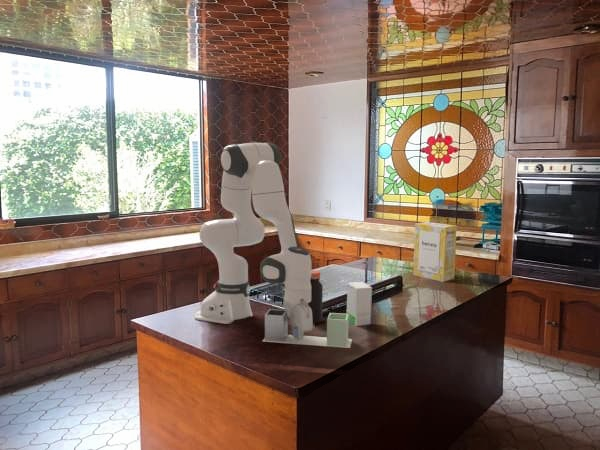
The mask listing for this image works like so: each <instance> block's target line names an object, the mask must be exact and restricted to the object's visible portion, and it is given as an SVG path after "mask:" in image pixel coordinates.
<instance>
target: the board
mask: <svg viewBox="0 0 600 450" xmlns="http://www.w3.org/2000/svg"><path fill="white" fill-rule="evenodd" d="M352 341H353V339H352V338H348V342H347V346H346V347H341V346H328V345H327V336H324V337H323V336H315V335H314V336H311V335H304V338H302V339H296V338H294V337H293V335H292V334H288V335H287V337H286V339H285V341H284V342H275V341H265V337H264V338H263V339H262V342H266V343H267V342H268V343H279V344H290V345H291V344H293V345H305V346H317V347H318V346H320V347H331V348H332V347H333V348H345V349H350V348H351V345H352Z"/></svg>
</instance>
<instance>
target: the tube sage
mask: <svg viewBox="0 0 600 450" xmlns="http://www.w3.org/2000/svg"><path fill="white" fill-rule="evenodd" d="M326 337H327V345H328V346H327V347H330V346H341V347H340V348H343V347H346V346H347V342H348V339H349V323H348V314H346V313H341V312H340V313H337V312H329V314H328V316H327V318H326Z"/></svg>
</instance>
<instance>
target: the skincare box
mask: <svg viewBox="0 0 600 450" xmlns="http://www.w3.org/2000/svg"><path fill="white" fill-rule="evenodd" d="M346 290H347V291H346V292H347V294H346V295H347V296H346V313H345V314H348V324H352V325H354V326H355V327H357V326H366V325H367V326H368V325H371V314H372V300H373V299H372V296H373V287H372V286H370V285H369V284H368V283H365V282H363V281H353V282H352V281H351V282H347V289H346Z"/></svg>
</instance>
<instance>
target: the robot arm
mask: <svg viewBox="0 0 600 450" xmlns="http://www.w3.org/2000/svg"><path fill="white" fill-rule="evenodd" d="M219 159H220V165H221V168H222V170H223V171H222V179H221V189H220V190H221V191H220V204H221V206H222V208H223V209H224V210H226V211H228V212H230V213H232V214H233V218H224V219H223V218H222V219H213V220H210V221H206V222H204V223H203V224H202V225H201V227H200V229H199V240H200V242H201V244H202V245H203V246H204V247H205V248H207V249H209V251H211V252H212V253H213V255H214V256H215V259H216V260H217V264H218V265H217V266H218V272H219V273H218V274H219V277H218V280H217V281H216V282H215V284H214V285H213V288H214V289H215V290H214V291H213V292H212V293H210V294H209V295H208V296H206V297H205V298H204V299H203V300H202V302H201V304H200V309H199V310H198V311H197V312H196V313H195V314H194V319H195V320H198V321H204V322H210V323H211V322H212V323H218V324H224V325H230V324H232V323H233V322H234V321H236V320H242V319H246V318H248V317H253V312H252V309H251V304H250V303H251V302H250V281H249V272H248V271H249V264H248V261H247V260H246V259H245V258H244V257H243V256H240V255H238V254H236V253H235V251H234V248H235V247H236V248H237V247H238V248H239V247H246V246H252V245H256V244H259V243H261V242H262V241H263V240H264V237H265V235H266V229H265V225H264V223H263V222H262V220H261V219H259V218H258V217H257V216H256V215H258V216H259V217H260V218H262V219H264V220H266V221H269V222H271V223H272V224H273V225H274V226H275V228H276V230H277V234H278V239H279V243H280V246H281V247H280V250H281V251H280V252H279V253H277V254H271V255H270V256H267V257H265V258H264V259H262V261H261V262H260V266H259V272H260V275H261V277H262V279H263V281H265V282H266V283H267V284H272V285H273V284H274V285H275V284H276V285H277V284H278V285H279V284H284V288H282V289H281V290H282V291H281V293H282V294H281V295H282V296H283V308H284V309H283V310H288V318H289V319H290V322H291V328H292V331H293V329H294V328H295V327H298V329H299V330H298V332H297V337H298V338H299V339H302V338H304V336H305V333H306V332H311V331H312V330H313V327H314V324H313V319H312V310H311V308H310V307H309V306H308V303H309V302H311V283H310V278H311V271H312V258H311V254H310V252H309V251H308V250H307V249H306V248H304V247H300V246H299V243H298V237H297V234H296V228H295V222H294V219H293V216H292V212H291V210H290V209H289V207H288V204H287V200H286V195H285V186H284V180H283V177H282V171H281V169H280V165H281V162H282V155H281V151H280V148H279V147H278V145H276V144H274V143H272V142H271V143H270V142H247V143H241V144H240V143H239V144H235V143H233V144H230V145H227V146H225V147H224V148H223V149H222V151H221V152H220V157H219ZM251 199H252V200H251ZM251 202H252V203H251ZM251 204H252V205H253V209H254V211H255V213H256V215H255V213H254V212H253V209H252V205H251ZM292 331H291V332H292Z"/></svg>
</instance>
